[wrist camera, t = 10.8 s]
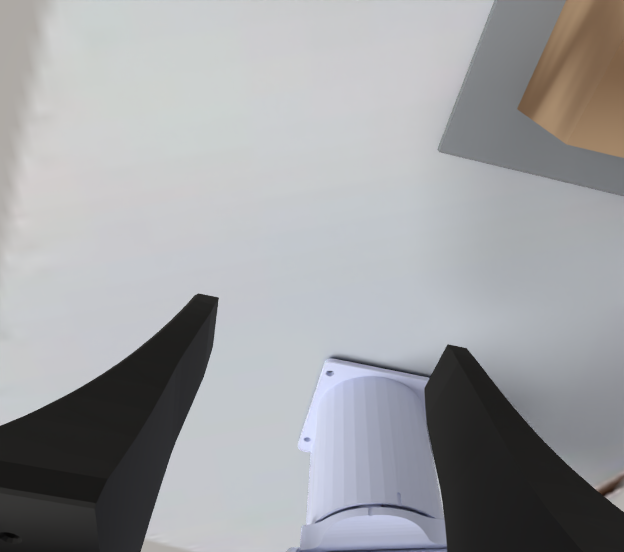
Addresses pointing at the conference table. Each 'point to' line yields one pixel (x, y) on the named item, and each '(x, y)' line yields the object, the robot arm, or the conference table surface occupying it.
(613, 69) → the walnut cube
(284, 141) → the conference table surface
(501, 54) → the pad
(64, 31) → the conference table surface
